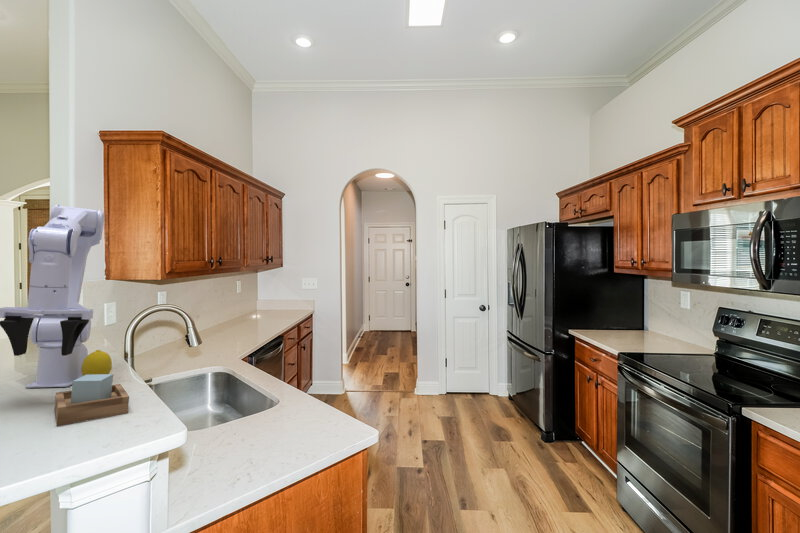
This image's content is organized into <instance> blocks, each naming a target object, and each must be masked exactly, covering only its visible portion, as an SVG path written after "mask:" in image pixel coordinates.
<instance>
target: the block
mask: <svg viewBox="0 0 800 533" xmlns="http://www.w3.org/2000/svg"><path fill="white" fill-rule="evenodd" d="M113 377H114V373H111V374H110V373H109V374H91V375H84V376H82V377H80V378H78V379H76V380H74V381H73V382H72V385H71V391H72V393H71V404H75V403H81V402H88V401H94V400H100V399H107V398H110V397H111V393H112V385H113Z"/></svg>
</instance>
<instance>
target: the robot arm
mask: <svg viewBox="0 0 800 533" xmlns="http://www.w3.org/2000/svg"><path fill="white" fill-rule="evenodd" d="M104 225H105V212H103V210H102V209H91V208H84V207H83V208H82V207H75V206H65V205H60V204H55V205H53V206H52V208H51V210H50V215H49V220H48V222H47V223H46V224H45V225H44V226H37V227H36V228H31V230H30V231H29V233H28V234H29V235H28V243H27V244H28V245H27V246H28V254H29V256H28V257H29V258H28V262H29V263H31V265H30V266H31V267H30V275H29V287H28V288H29V289H28V298H27V299H28V300H27V306H22V307H21V306H14V307H13V306H11V307H8V306H6V307H0V319H3V320H0V327H1V328H2V330H3V331H4V333H6V336H7V337H8V339H9V342H10V346H11V349H12V353H13V356H14V357H19V356H22V355H25V354H26V353H27V349H28V343H29V337H30V341H31V343H33V345H36V348H39V349H38V359H37V370H36V381H33V382H31V383H29V384H26V385H24V386H25V387H24V388H26V389H27V388H28V389H29V388H57V387H58V388H65V387H66V388H67V387H70V386H72V382H73V381H74V380H76V379H78V378H80V377H82V376H83V375H82V370H81V369H82V364H83V361H84V359H85V358H86V357H87V356H88V355H89V354H88V353H89V351H88V348H87V346H86V345H85V344H84V343H86V342H87V341H88V340H89V339H90V335H91V328H92V326H91V325H92V319H93V318H94V317H93V316H94V309H91V308H87V307H86V306H83V305H81V304H80V300H81V299H80V298H81V293H82V287H83V282H84V276H85V272H86V271H85V270H86V265H87V259H88V255H89V252H90V251H91V248H92V247H93V246H94V247H95V246H96V245H99V244H100V242H101V240H102V239H103V238H102V237H103V231H104ZM29 335H30V336H29Z"/></svg>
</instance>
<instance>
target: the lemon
mask: <svg viewBox="0 0 800 533" xmlns="http://www.w3.org/2000/svg"><path fill="white" fill-rule="evenodd" d="M112 367H113V361H112V358H111V355H110V354H108V353H107V352H106V351H102V350H101V349H97V350H95V351H92V352H91V353H89V354H88V355H87V357H86V358H85V359H84V361H83V364H82V369H81V370H82V375H83V376H84V375H91V374H110V373H111V371H112Z"/></svg>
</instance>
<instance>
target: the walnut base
mask: <svg viewBox="0 0 800 533" xmlns="http://www.w3.org/2000/svg"><path fill="white" fill-rule="evenodd" d="M71 393H72V390H65V391H59V392H55V398H54V399H55V400H54V410H53V411H54V417H55V424H56V427H60V426H67V425H71V424H72V425H73V424H77V423H83V422H88V421H91V420H92V421H93V420H97V419H104V418H108V417H113V416H114V417H115V416H119V415H124V414H128V413H129V405H130V404H129V403H130V395H129V394H128V393H127V391H126V390H125V388H124V387H123V386H122V383H118V384H117V383H115V384H112V393H111V397H110V398H107V399H100V400H94V401H88V402H81V403H75V404H71ZM87 420H88V421H87ZM66 424H67V425H66Z"/></svg>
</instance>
